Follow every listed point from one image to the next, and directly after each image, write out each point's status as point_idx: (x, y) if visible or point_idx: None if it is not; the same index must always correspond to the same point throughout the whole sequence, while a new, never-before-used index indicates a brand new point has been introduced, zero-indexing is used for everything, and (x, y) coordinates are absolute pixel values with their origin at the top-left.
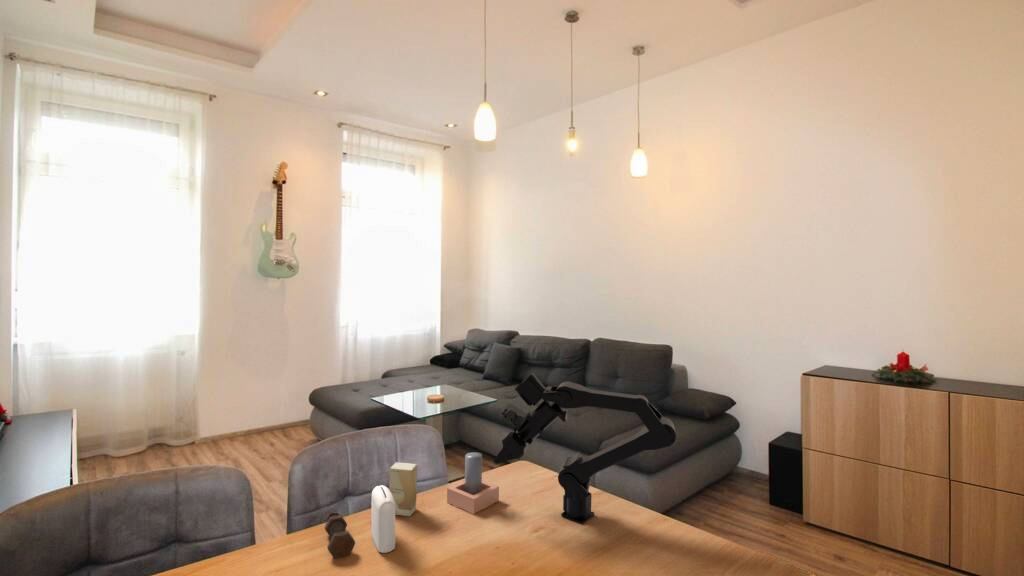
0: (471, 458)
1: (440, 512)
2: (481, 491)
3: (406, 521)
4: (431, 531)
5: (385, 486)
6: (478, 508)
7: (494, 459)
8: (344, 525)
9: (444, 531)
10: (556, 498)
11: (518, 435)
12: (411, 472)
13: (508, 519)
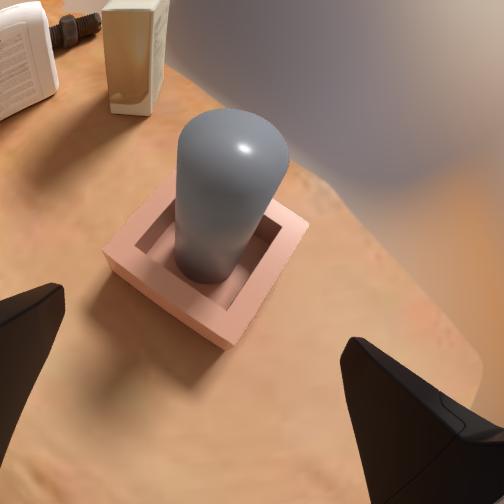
0: (181, 138)
1: (127, 172)
2: (207, 275)
3: (89, 112)
4: (32, 172)
5: (20, 10)
6: (129, 281)
7: (41, 287)
8: (63, 37)
9: (26, 202)
10: None
11: (441, 493)
12: (102, 16)
13: (87, 396)
